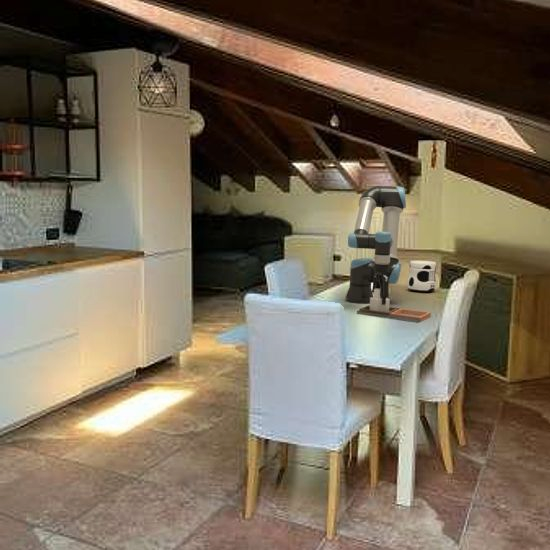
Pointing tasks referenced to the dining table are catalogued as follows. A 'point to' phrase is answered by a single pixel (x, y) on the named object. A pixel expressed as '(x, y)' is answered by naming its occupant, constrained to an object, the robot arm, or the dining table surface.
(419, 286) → the milk container
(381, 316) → the rail bar
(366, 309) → the frame
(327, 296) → the dining table surface
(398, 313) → the frame
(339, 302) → the dining table surface
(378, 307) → the medicine bottle
